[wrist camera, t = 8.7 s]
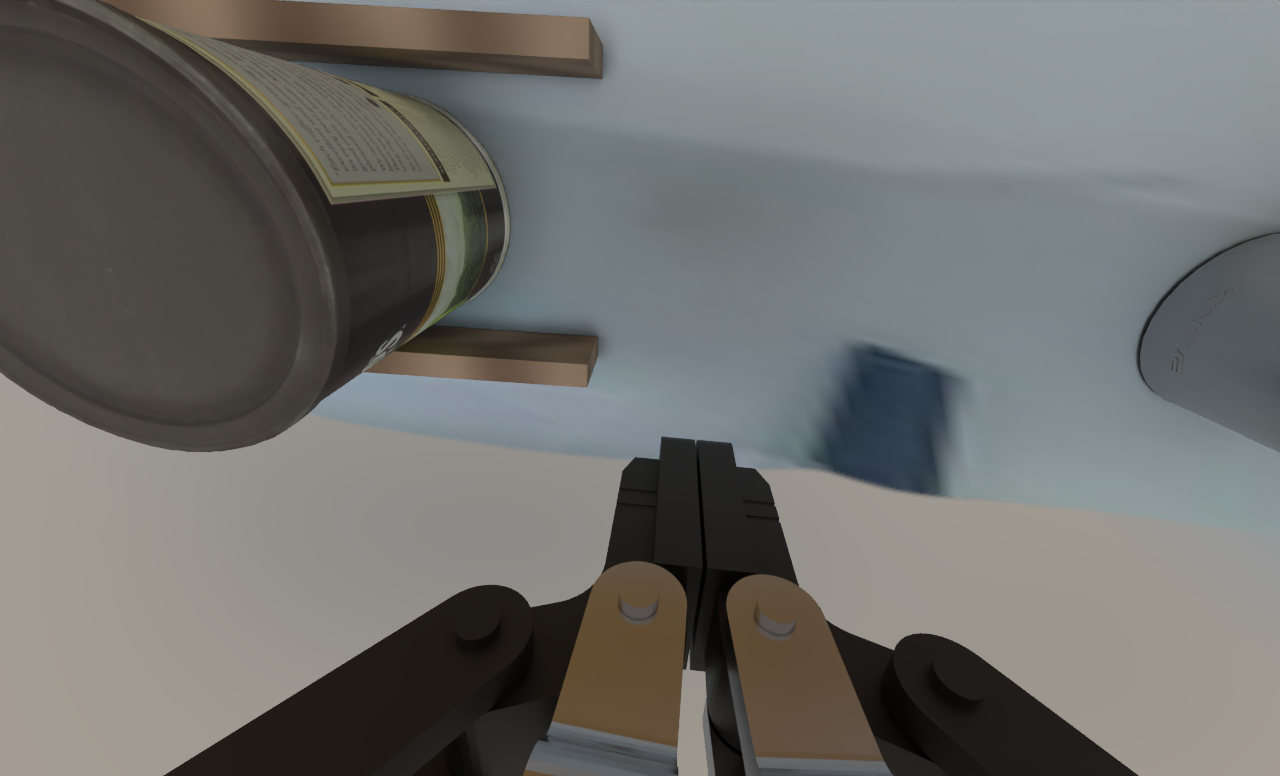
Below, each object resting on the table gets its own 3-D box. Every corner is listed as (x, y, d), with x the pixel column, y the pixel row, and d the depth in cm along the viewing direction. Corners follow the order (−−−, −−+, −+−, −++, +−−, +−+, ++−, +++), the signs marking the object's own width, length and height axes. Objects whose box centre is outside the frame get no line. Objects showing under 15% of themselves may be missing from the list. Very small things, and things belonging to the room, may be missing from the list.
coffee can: (540, 287, 24) (407, 417, 12) (367, 327, 26) (82, 481, 13) (465, 59, 20) (129, -125, 7) (264, 122, 22) (-306, 57, 9)
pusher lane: (602, 45, 20) (567, -26, 12) (597, 356, 26) (572, 429, 19) (85, 15, 20) (-239, -70, 13) (203, 330, 26) (30, 391, 19)
